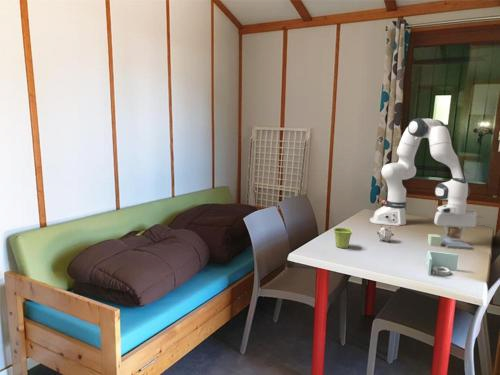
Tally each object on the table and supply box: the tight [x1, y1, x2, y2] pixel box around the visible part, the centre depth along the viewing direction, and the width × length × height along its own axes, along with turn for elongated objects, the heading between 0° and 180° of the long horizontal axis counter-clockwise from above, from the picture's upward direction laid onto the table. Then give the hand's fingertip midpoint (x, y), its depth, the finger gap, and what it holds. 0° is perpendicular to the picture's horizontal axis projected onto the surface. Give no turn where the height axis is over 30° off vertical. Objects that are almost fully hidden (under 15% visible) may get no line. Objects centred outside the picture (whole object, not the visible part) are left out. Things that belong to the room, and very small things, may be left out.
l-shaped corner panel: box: [425, 250, 459, 277], centre depth 162 cm, size 12×12×8 cm
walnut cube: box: [446, 226, 462, 239], centre depth 205 cm, size 5×5×5 cm
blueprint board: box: [438, 234, 473, 251], centre depth 206 cm, size 12×20×1 cm, turn 172°
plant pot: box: [333, 227, 353, 249], centre depth 195 cm, size 9×9×9 cm
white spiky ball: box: [376, 225, 395, 243], centre depth 206 cm, size 9×8×10 cm
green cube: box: [427, 233, 442, 247], centre depth 202 cm, size 5×5×5 cm
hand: (453, 234), depth 205 cm, fingers closed on walnut cube, 5 cm apart
